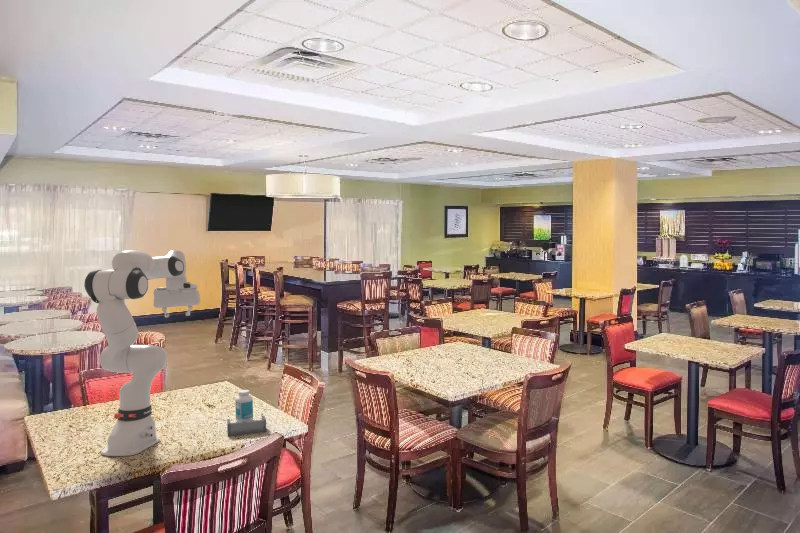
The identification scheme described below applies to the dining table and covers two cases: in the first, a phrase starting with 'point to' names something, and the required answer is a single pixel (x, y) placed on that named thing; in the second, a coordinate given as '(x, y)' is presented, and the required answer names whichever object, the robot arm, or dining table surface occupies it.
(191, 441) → the dining table surface
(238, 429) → the bracket
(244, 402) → the pill bottle
